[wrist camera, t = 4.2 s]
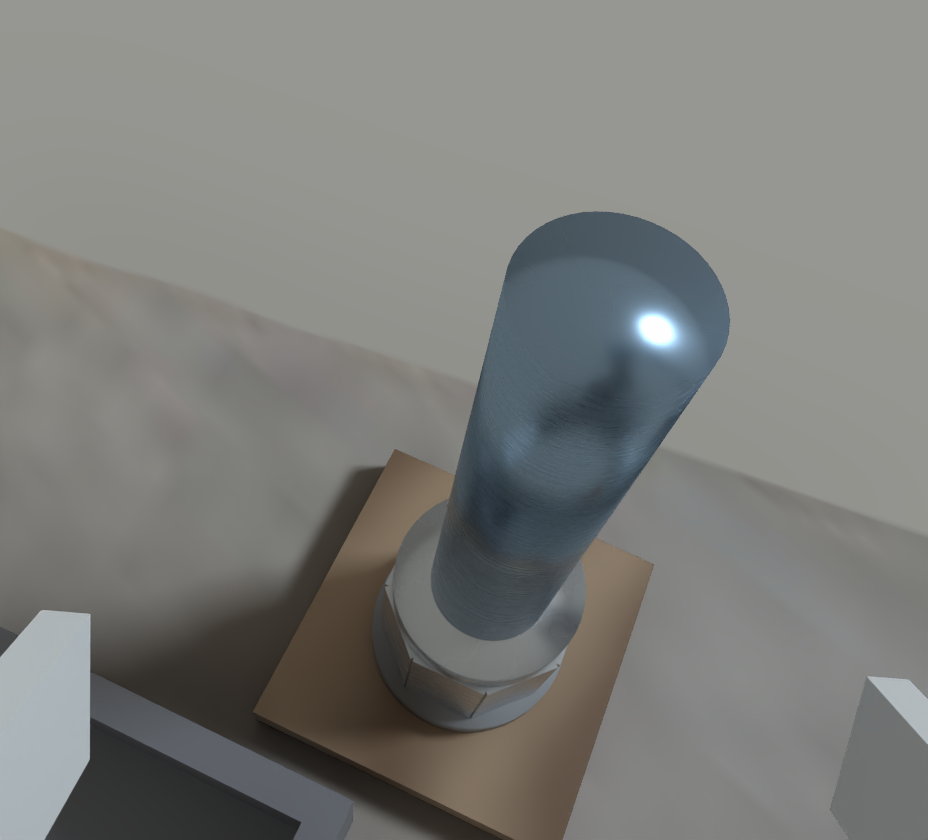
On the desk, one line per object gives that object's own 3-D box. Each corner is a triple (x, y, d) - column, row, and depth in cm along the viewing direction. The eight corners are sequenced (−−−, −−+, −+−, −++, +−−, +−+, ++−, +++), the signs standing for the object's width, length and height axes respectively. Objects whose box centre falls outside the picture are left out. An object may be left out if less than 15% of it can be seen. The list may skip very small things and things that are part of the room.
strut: (574, 587, 31) (830, 243, 15) (516, 741, 28) (749, 532, 12) (429, 521, 32) (515, 118, 15) (358, 666, 29) (367, 366, 12)
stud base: (642, 576, 34) (696, 519, 29) (546, 861, 29) (590, 854, 24) (393, 465, 35) (401, 389, 30) (256, 719, 30) (236, 682, 25)
